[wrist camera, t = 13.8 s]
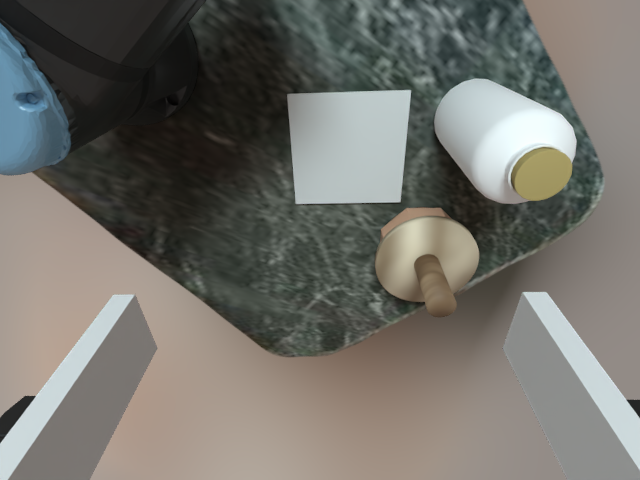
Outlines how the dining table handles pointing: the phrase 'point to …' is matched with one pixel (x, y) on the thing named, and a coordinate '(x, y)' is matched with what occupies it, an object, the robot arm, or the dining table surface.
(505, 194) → the white bottle
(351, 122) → the mat
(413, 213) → the bowl
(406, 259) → the lid
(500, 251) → the dining table surface
